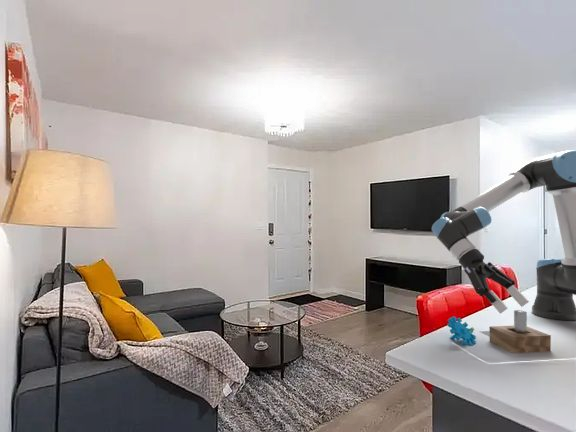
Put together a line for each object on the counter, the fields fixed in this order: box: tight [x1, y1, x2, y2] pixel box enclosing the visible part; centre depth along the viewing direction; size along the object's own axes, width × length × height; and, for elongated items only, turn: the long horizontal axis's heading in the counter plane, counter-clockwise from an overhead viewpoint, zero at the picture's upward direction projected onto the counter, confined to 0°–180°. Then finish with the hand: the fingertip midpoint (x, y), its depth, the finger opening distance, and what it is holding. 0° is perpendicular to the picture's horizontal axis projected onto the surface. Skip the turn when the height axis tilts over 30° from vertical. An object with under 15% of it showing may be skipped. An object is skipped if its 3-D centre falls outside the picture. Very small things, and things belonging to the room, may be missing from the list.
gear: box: [447, 316, 477, 346], centre depth 112 cm, size 11×6×10 cm
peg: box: [513, 309, 528, 334], centre depth 107 cm, size 3×3×11 cm
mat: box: [479, 330, 490, 338], centre depth 117 cm, size 10×8×1 cm
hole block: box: [489, 325, 552, 354], centre depth 107 cm, size 12×10×5 cm
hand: (515, 307), depth 108 cm, fingers open, 13 cm apart
